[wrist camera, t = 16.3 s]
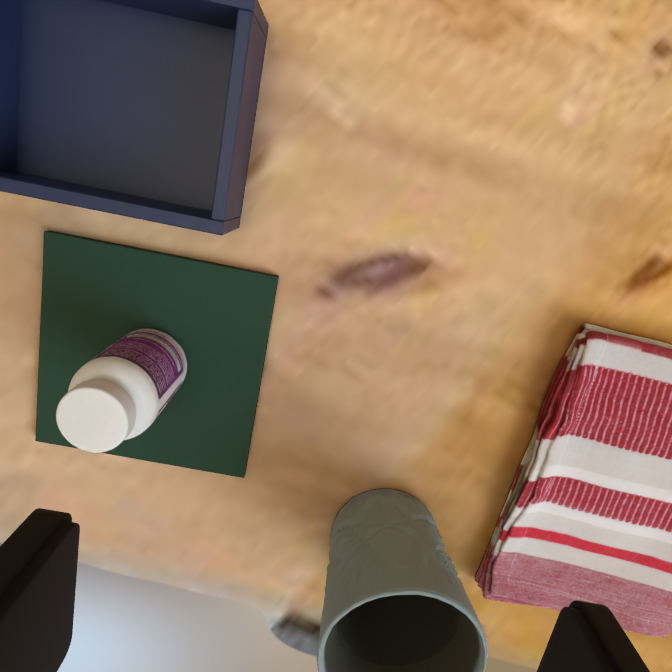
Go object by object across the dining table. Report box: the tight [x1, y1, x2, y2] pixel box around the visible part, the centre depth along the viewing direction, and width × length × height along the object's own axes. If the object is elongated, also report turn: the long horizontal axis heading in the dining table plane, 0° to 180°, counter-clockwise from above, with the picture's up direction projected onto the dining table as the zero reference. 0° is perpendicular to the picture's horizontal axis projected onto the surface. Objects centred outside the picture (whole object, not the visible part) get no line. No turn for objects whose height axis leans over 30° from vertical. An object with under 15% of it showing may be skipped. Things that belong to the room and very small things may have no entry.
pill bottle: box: [56, 329, 187, 453], centre depth 33 cm, size 5×5×10 cm
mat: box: [36, 231, 279, 478], centre depth 38 cm, size 16×16×1 cm
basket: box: [0, 0, 268, 235], centre depth 31 cm, size 13×16×5 cm
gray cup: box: [317, 489, 488, 672], centre depth 37 cm, size 10×10×12 cm
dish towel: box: [475, 323, 672, 637], centre depth 40 cm, size 17×23×3 cm
